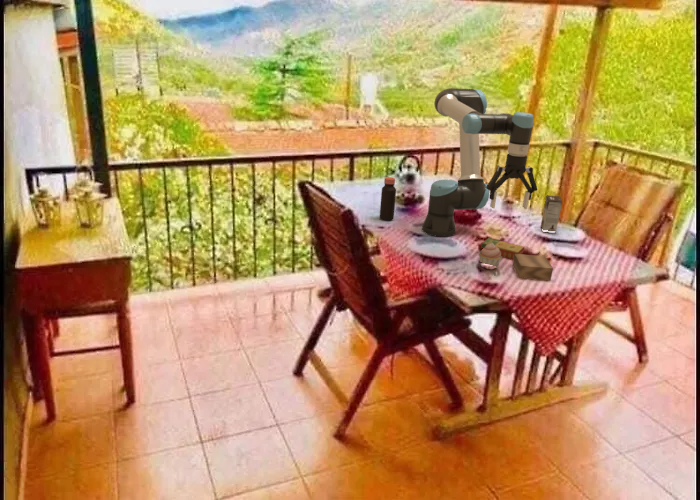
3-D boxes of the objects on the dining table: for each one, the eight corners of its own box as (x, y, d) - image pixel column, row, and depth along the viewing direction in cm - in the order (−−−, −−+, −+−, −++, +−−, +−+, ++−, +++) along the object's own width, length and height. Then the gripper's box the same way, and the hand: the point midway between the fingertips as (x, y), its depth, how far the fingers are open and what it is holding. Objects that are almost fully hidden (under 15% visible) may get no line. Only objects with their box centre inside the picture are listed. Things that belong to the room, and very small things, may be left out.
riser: (518, 277, 215) (520, 265, 213) (512, 265, 226) (514, 253, 224) (550, 280, 215) (553, 268, 213) (542, 267, 226) (545, 256, 224)
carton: (516, 261, 231) (518, 251, 230) (479, 251, 239) (481, 242, 238) (523, 255, 238) (524, 246, 236) (487, 246, 246) (488, 236, 244)
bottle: (388, 222, 267) (391, 181, 259) (376, 218, 270) (379, 178, 263) (396, 219, 272) (399, 178, 264) (384, 215, 275) (387, 175, 268)
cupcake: (505, 267, 224) (509, 243, 221) (493, 273, 218) (497, 249, 214) (484, 259, 230) (488, 236, 226) (472, 265, 224) (475, 242, 220)
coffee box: (540, 226, 273) (546, 194, 267) (553, 228, 272) (560, 196, 266) (542, 232, 265) (548, 200, 259) (556, 234, 264) (563, 201, 258)
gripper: (490, 155, 210) (482, 210, 218) (552, 157, 214) (542, 210, 222) (482, 151, 217) (475, 204, 225) (543, 153, 221) (533, 204, 229)
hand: (508, 207), depth 223 cm, fingers open, 13 cm apart
